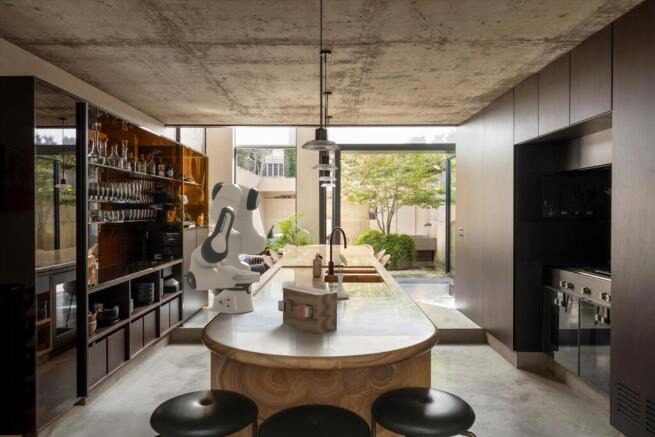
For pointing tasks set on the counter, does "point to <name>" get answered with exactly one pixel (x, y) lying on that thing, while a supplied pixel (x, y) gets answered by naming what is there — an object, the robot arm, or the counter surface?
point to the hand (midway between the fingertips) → (257, 274)
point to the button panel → (322, 309)
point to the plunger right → (305, 311)
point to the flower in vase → (340, 290)
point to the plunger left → (285, 305)
